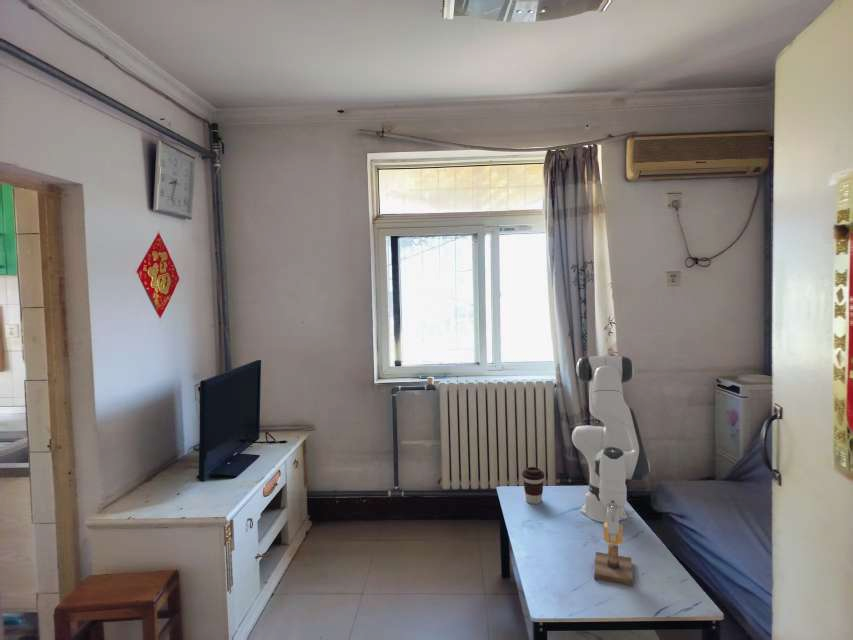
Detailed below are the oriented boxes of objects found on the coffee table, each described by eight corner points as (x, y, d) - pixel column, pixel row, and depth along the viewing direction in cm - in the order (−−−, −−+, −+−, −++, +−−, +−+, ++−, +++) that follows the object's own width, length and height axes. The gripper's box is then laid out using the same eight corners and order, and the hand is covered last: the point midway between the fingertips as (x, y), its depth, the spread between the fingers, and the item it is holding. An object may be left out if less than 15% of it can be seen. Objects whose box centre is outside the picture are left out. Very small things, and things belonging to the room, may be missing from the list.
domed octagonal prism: (603, 533, 170) (603, 520, 170) (622, 536, 168) (622, 522, 168) (603, 542, 164) (603, 528, 164) (622, 545, 162) (622, 531, 162)
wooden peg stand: (595, 557, 176) (595, 533, 175) (631, 562, 172) (631, 538, 171) (594, 579, 163) (594, 554, 162) (632, 586, 159) (632, 560, 158)
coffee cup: (540, 507, 216) (539, 475, 215) (519, 502, 221) (519, 471, 220) (547, 498, 224) (547, 467, 223) (527, 494, 230) (526, 464, 228)
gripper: (623, 510, 154) (623, 551, 155) (622, 485, 173) (622, 522, 174) (602, 507, 157) (602, 548, 158) (603, 483, 176) (604, 519, 177)
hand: (613, 534), depth 166 cm, fingers closed on domed octagonal prism, 6 cm apart
